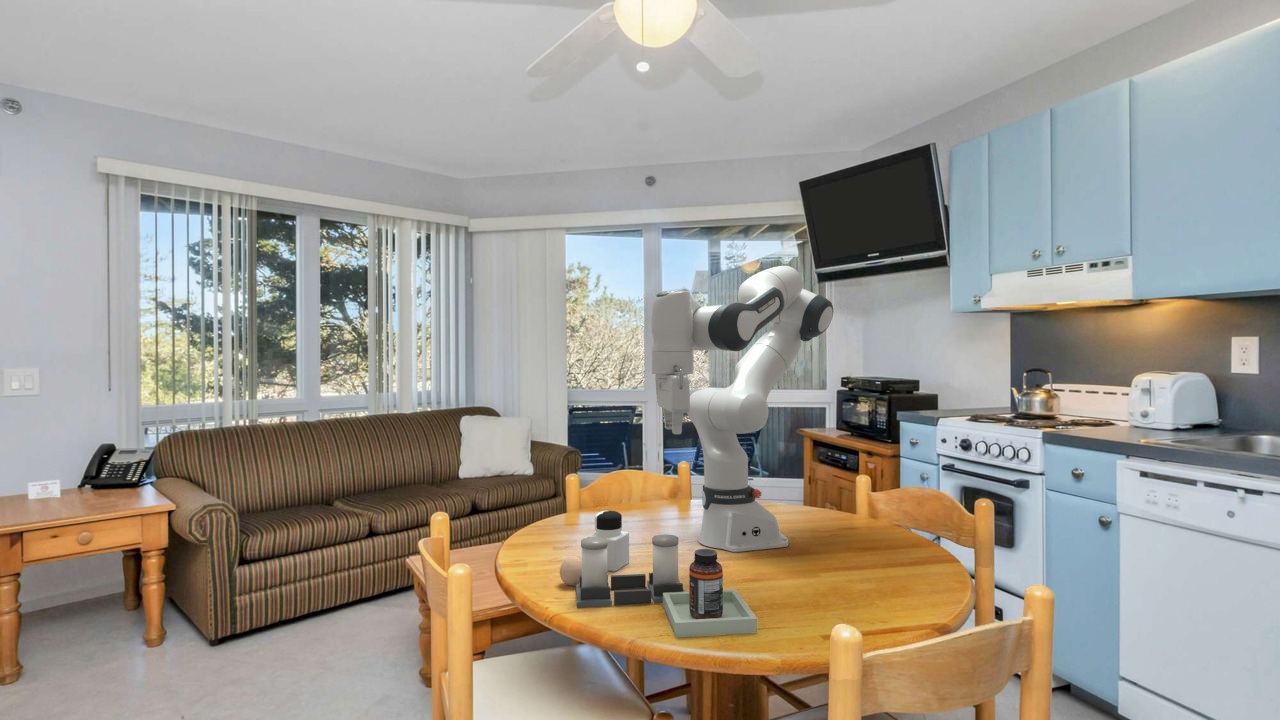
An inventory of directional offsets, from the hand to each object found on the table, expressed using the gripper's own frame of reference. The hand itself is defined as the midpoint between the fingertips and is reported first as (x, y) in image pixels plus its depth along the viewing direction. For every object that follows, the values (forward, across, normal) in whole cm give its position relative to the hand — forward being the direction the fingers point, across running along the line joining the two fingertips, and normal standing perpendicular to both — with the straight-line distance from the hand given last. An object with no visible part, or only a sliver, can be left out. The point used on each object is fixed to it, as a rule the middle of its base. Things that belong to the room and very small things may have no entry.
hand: (672, 431), depth 135 cm
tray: (+31, -21, -3) cm, 38 cm away
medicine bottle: (+31, +11, +13) cm, 36 cm away
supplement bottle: (+31, -21, -2) cm, 37 cm away
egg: (+31, 0, +21) cm, 38 cm away
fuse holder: (+31, -8, +10) cm, 34 cm away
